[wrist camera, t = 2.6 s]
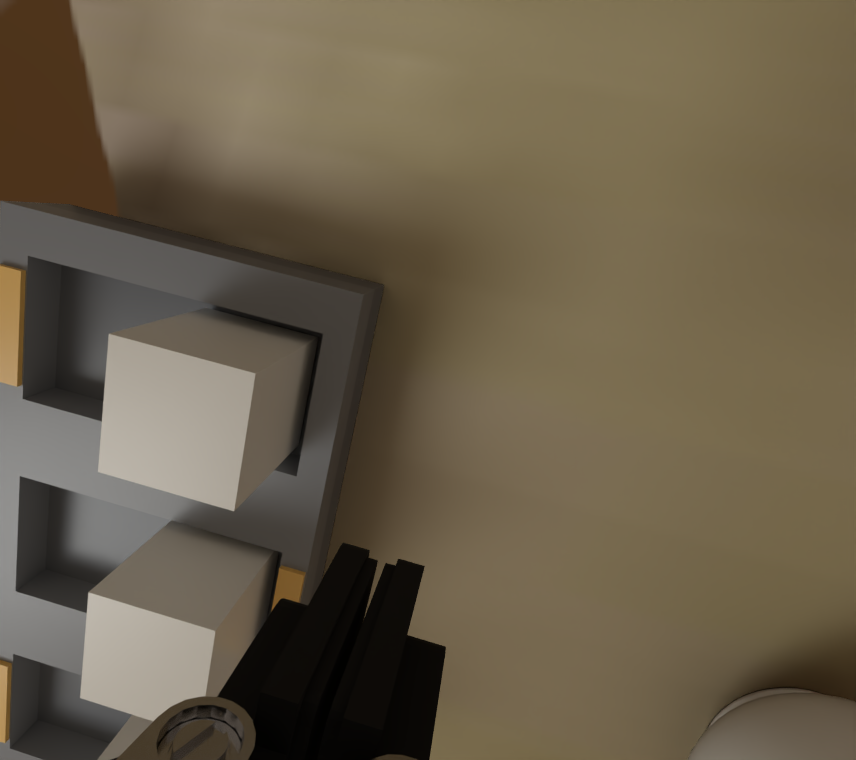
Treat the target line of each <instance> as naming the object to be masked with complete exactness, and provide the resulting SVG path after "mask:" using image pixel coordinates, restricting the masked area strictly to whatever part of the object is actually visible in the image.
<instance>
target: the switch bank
mask: <svg viewBox="0 0 856 760" xmlns="http://www.w3.org/2000/svg"><path fill="white" fill-rule="evenodd" d="M0 208H1V209H0V760H97V759H98V758H99V757H100V756H101V754H102V753H103V752H104V750H105V749H106V748H107V747H108V745H109V744H110V743H111V741H112V740H113V739H114V738H115V736H116V735H117V734H118V732H119V731H120V730H121V729H122V727H123V726H124V725H125V723H126V722H127V721H128V719H129V718H130V717H131V716H132V714H129V713H126V712H122V711H119V710H116V709H113V708H110V707H107V706H104V705H100V704H97V703H94V702H91V701H88V700H85V699H82V698H80V692H81V680H82V667H83V654H84V642H85V629H86V616H87V604H88V592H89V591H90V590H92V589H93V588H94V587H95V586H96V585H97V584H99V583H100V582H101V581H102V580H103V579H104V578H105V577H107V576H108V575H109V574H110V573H111V572H112V571H114V570H115V569H116V568H117V567H118V566H119V565H120V564H122V563H123V562H124V561H125V560H126V559H127V558H129V557H130V556H131V555H132V554H133V553H134V552H135V551H137V550H138V549H139V548H140V547H141V546H142V545H144V544H145V543H146V542H147V541H148V540H149V539H150V538H152V537H153V536H154V535H155V534H156V533H157V532H159V531H160V530H161V529H162V528H163V527H164V526H165V525H167V524H168V523H169V522H170V521H171V520H172V521H175V522H179V523H182V524H186V525H189V526H192V527H196V528H199V529H203V530H206V531H210V532H213V533H216V534H220V535H223V536H227V537H230V538H233V539H237V540H240V541H244V542H247V543H251V544H254V545H257V546H261V547H264V548H268V549H271V550H274V551H278V552H279V553H278V559H277V564H276V570H275V575H274V581H273V586H272V591H271V597H270V602H269V608H268V613H267V618H268V616H269V615H270V613H271V612H272V610H273V609H274V607H275V606H276V604H277V603H278V601H279V600H280V599H282V598H285V599H288V600H291V601H295V602H298V603H301V604H305V605H308V604H309V603H310V601H311V599H312V597H313V595H314V593H315V592H316V590H317V588H318V586H319V584H320V583H321V581H322V576H323V572H324V567H325V562H326V558H327V553H328V548H329V543H330V539H331V534H332V529H333V524H334V520H335V515H336V510H337V506H338V501H339V496H340V491H341V487H342V482H343V477H344V473H345V468H346V463H347V458H348V454H349V449H350V444H351V440H352V435H353V430H354V425H355V421H356V416H357V411H358V407H359V402H360V397H361V392H362V388H363V383H364V378H365V374H366V369H367V364H368V359H369V355H370V350H371V345H372V340H373V336H374V331H375V326H376V322H377V317H378V312H379V307H380V303H381V298H382V293H383V289H384V285H383V284H379V283H375V282H371V281H367V280H363V279H359V278H355V277H351V276H347V275H343V274H340V273H336V272H332V271H328V270H324V269H320V268H316V267H312V266H308V265H304V264H300V263H297V262H293V261H289V260H285V259H281V258H277V257H273V256H269V255H265V254H261V253H257V252H254V251H250V250H246V249H242V248H238V247H234V246H230V245H226V244H222V243H218V242H214V241H211V240H207V239H203V238H199V237H195V236H191V235H187V234H183V233H179V232H175V231H171V230H168V229H164V228H160V227H156V226H152V225H148V224H144V223H140V222H136V221H132V220H128V219H125V218H121V217H117V216H113V215H108V214H105V213H101V212H97V211H93V210H89V209H85V208H82V207H78V206H74V205H70V204H50V203H30V202H10V201H1V206H0ZM203 308H209V309H213V310H217V311H221V312H225V313H228V314H232V315H236V316H240V317H243V318H247V319H251V320H255V321H259V322H262V323H266V324H270V325H274V326H277V327H281V328H285V329H289V330H293V331H296V332H300V333H304V334H308V335H311V336H315V337H318V342H317V347H316V353H315V358H314V364H313V369H312V374H311V380H310V385H309V391H308V396H307V402H306V407H305V412H304V418H303V423H302V429H301V434H300V439H299V445H298V446H297V447H296V448H295V449H294V450H293V451H292V452H291V453H290V454H289V455H288V456H287V457H286V458H285V459H284V461H283V462H282V463H281V464H280V465H279V466H278V467H277V468H276V469H275V470H274V471H273V472H272V473H271V474H270V475H269V476H268V477H267V478H266V479H265V480H264V481H263V482H262V483H261V484H260V485H259V486H258V487H257V488H256V489H255V490H254V491H253V492H252V493H251V495H250V496H249V497H248V498H247V499H246V500H245V501H244V502H243V503H242V504H241V505H240V506H239V507H238V508H237V509H236V510H235V511H231V510H228V509H224V508H221V507H217V506H214V505H210V504H207V503H203V502H200V501H196V500H193V499H189V498H186V497H183V496H179V495H176V494H172V493H169V492H165V491H162V490H158V489H155V488H151V487H148V486H145V485H141V484H138V483H134V482H131V481H127V480H124V479H120V478H117V477H113V476H110V475H107V474H103V473H100V472H98V464H99V451H100V439H101V426H102V413H103V400H104V388H105V375H106V362H107V350H108V337H109V334H110V333H113V332H117V331H121V330H125V329H128V328H132V327H136V326H139V325H143V324H147V323H151V322H154V321H158V320H162V319H166V318H169V317H173V316H177V315H181V314H184V313H188V312H192V311H196V310H199V309H203ZM267 618H266V620H267Z"/></svg>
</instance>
